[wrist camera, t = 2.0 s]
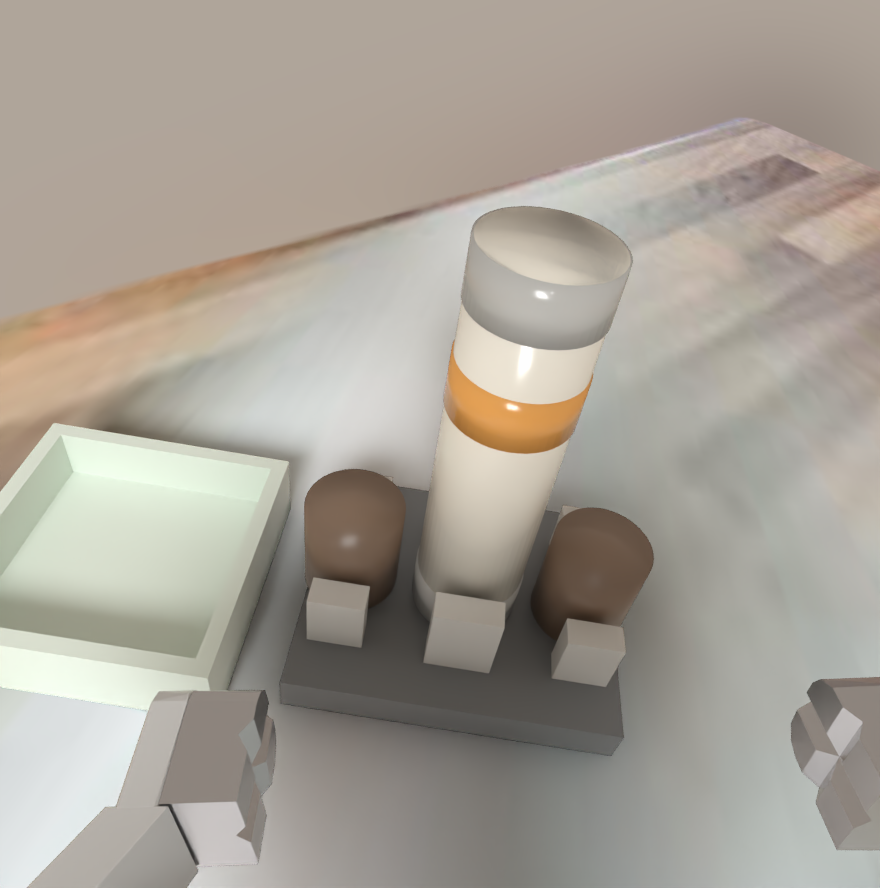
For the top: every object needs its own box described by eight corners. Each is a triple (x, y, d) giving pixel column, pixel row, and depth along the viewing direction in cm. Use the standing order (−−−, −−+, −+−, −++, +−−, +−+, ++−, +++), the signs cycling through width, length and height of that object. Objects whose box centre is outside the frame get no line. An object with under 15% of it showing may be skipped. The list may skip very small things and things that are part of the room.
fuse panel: (280, 703, 25) (276, 635, 22) (338, 499, 32) (341, 427, 29) (611, 756, 25) (652, 695, 22) (594, 540, 33) (623, 473, 30)
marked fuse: (405, 626, 26) (465, 269, 16) (418, 542, 29) (476, 196, 19) (513, 644, 26) (641, 299, 16) (515, 557, 29) (624, 221, 19)
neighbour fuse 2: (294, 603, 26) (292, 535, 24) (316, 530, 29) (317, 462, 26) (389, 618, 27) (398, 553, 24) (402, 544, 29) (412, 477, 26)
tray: (-71, 676, 24) (-106, 628, 22) (70, 472, 32) (53, 423, 30) (216, 721, 24) (207, 678, 22) (290, 508, 32) (289, 461, 30)
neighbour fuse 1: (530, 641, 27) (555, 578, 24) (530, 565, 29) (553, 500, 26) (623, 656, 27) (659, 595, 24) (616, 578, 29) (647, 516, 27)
